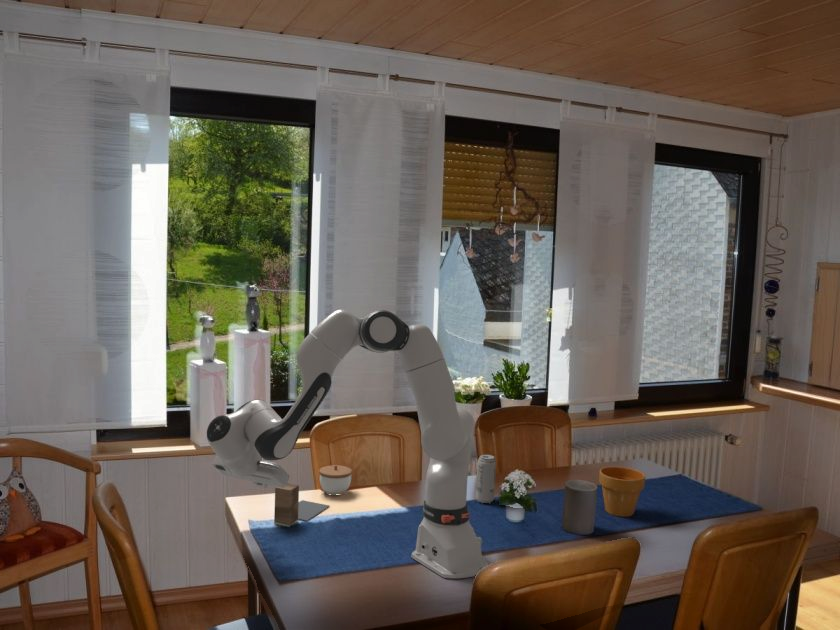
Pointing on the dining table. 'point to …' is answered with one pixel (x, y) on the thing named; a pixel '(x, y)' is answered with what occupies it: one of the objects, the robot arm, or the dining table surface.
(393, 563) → the dining table surface
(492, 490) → the energy drink can
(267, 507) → the dining table surface
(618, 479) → the flower pot
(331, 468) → the lidded jar
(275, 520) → the walnut block
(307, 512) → the felt mat
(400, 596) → the dining table surface
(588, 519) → the pillar candle
